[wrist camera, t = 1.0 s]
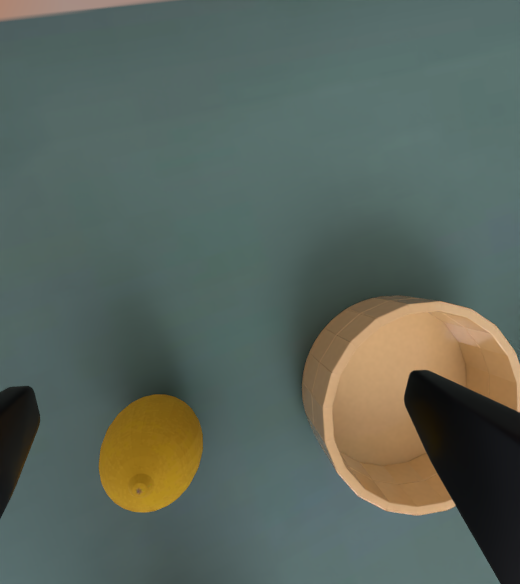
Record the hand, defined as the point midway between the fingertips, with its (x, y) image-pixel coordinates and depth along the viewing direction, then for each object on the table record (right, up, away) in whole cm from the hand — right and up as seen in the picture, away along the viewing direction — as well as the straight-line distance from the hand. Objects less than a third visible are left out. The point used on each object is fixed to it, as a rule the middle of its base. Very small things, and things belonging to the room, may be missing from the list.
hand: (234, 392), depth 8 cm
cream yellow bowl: (+10, -4, +18) cm, 21 cm away
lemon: (-6, -6, +16) cm, 18 cm away
